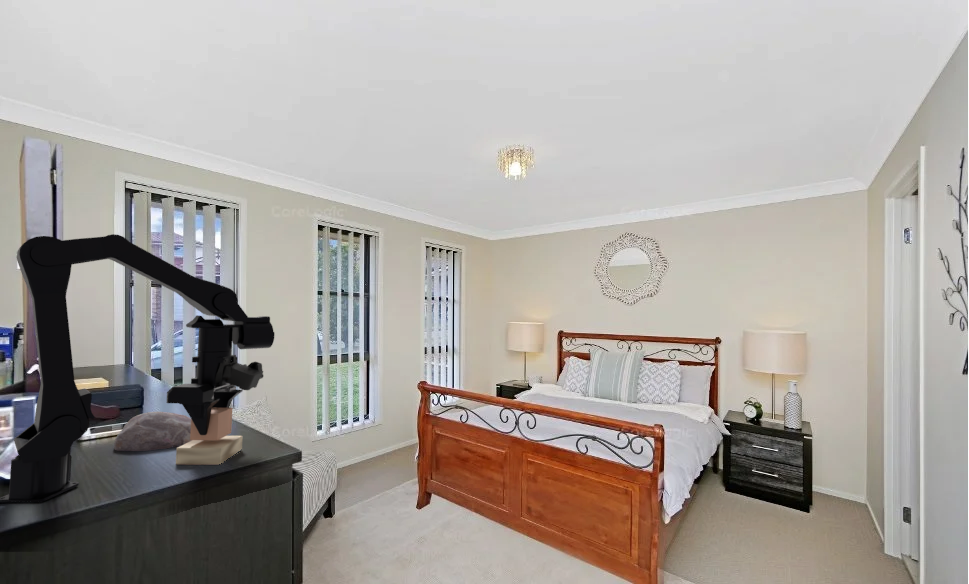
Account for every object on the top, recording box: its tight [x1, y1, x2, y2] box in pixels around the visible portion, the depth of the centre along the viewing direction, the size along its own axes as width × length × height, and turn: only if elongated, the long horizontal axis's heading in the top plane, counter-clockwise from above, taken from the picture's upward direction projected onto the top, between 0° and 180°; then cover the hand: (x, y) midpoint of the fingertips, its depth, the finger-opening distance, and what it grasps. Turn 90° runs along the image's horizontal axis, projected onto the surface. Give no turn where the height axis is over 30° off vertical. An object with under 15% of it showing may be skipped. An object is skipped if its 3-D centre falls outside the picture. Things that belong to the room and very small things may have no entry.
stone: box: [113, 411, 192, 452], centre depth 94 cm, size 17×10×10 cm
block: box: [190, 407, 233, 440], centre depth 85 cm, size 5×5×5 cm
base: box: [175, 435, 243, 466], centre depth 85 cm, size 8×8×3 cm
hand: (211, 431), depth 85 cm, fingers closed on block, 5 cm apart
